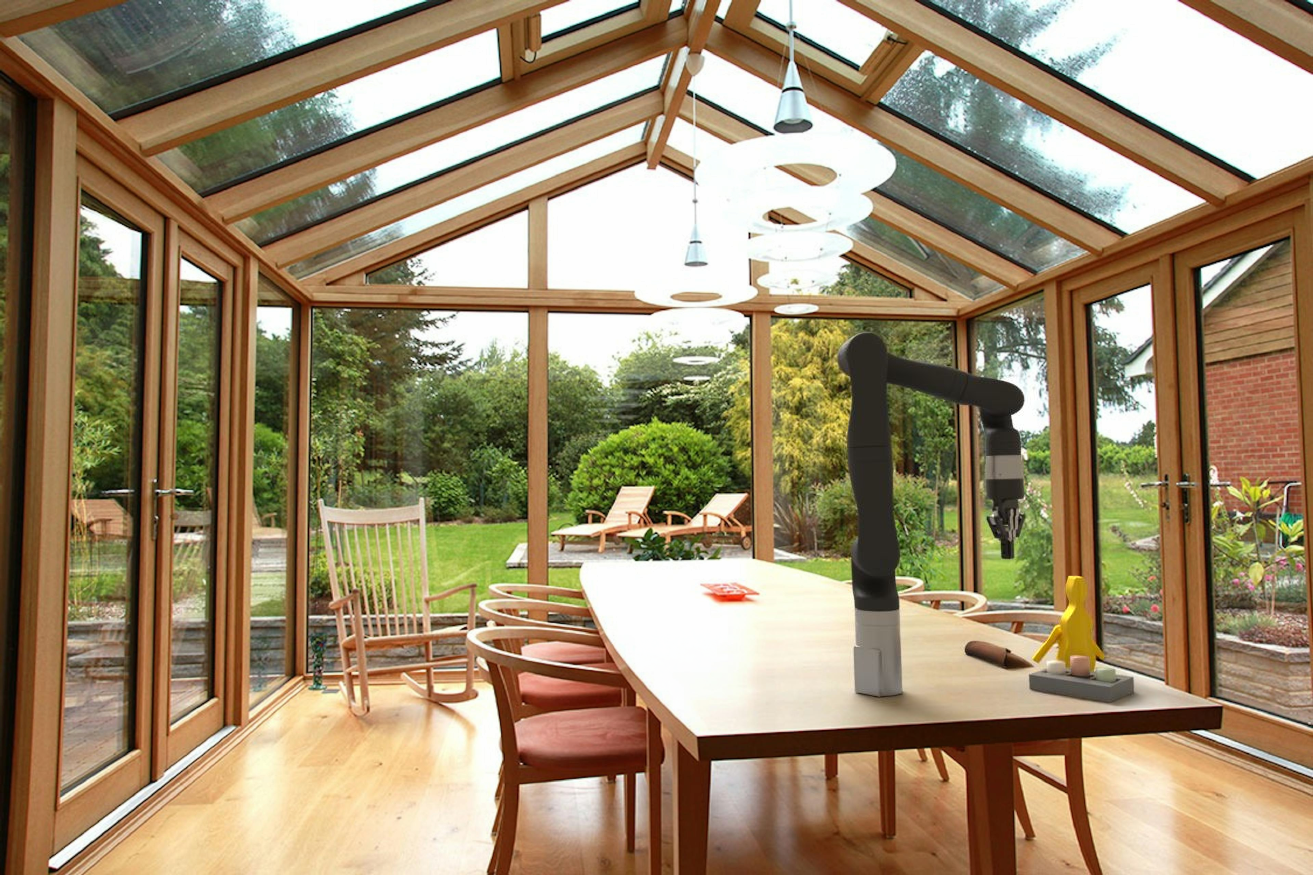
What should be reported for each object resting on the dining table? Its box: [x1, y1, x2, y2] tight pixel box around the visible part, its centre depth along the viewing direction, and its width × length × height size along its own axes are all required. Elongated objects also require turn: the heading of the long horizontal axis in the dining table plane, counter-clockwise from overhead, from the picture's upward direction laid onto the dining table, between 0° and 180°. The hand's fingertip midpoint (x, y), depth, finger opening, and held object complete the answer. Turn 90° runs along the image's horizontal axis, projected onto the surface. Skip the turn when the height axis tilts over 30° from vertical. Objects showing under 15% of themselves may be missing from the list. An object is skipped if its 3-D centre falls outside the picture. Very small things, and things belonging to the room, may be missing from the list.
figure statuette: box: [1031, 575, 1106, 671], centre depth 193 cm, size 18×8×22 cm, turn 99°
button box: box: [1028, 667, 1135, 703], centre depth 178 cm, size 12×16×3 cm
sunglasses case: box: [964, 640, 1035, 670], centre depth 209 cm, size 18×7×7 cm
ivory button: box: [1046, 659, 1066, 675], centre depth 182 cm, size 4×4×4 cm
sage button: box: [1094, 666, 1116, 683], centre depth 174 cm, size 4×4×4 cm
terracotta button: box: [1070, 655, 1090, 676], centre depth 178 cm, size 4×4×4 cm
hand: (1007, 558), depth 183 cm, fingers closed
